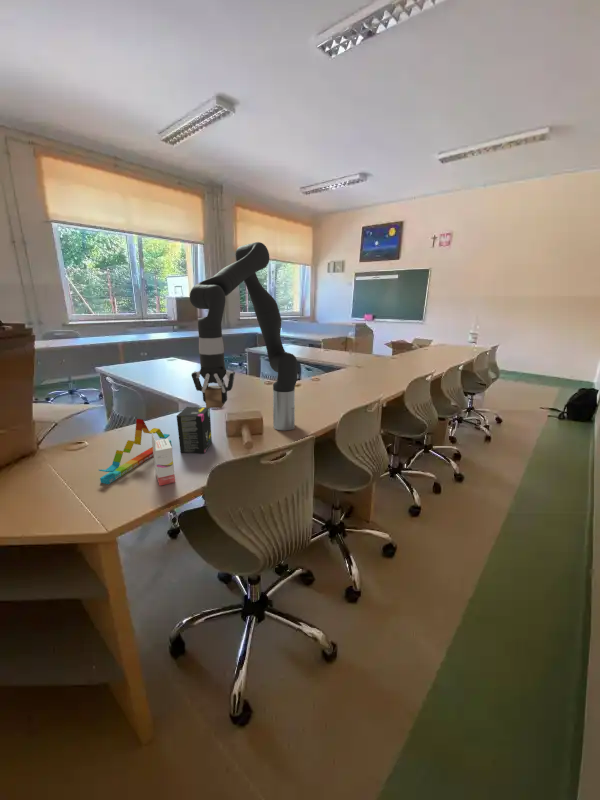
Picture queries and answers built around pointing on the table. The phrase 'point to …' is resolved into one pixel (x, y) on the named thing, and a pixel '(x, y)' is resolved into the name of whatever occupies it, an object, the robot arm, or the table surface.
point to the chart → (117, 470)
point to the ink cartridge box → (163, 461)
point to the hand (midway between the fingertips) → (215, 402)
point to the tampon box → (194, 429)
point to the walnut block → (213, 397)
